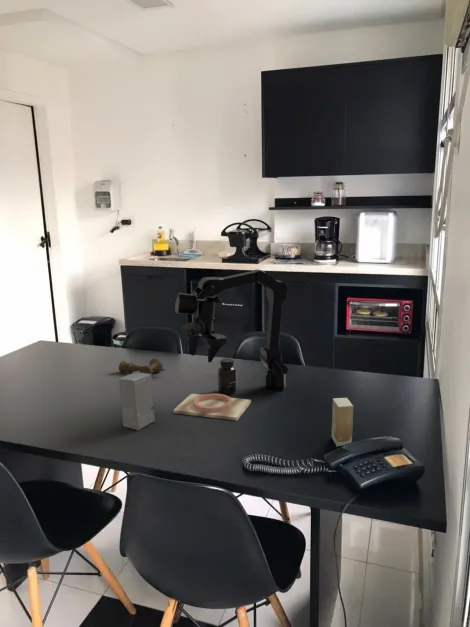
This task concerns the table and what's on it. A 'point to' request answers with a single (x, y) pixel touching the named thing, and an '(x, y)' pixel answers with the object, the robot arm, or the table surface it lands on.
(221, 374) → the supplement bottle
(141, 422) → the skincare box
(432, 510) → the table surface
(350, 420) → the skincare box
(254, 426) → the table surface
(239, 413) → the birch board
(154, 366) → the kendama
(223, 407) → the ring collar
